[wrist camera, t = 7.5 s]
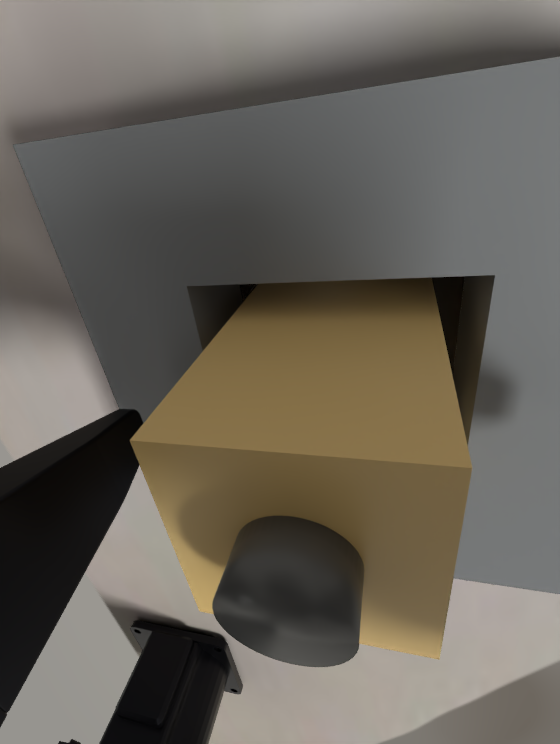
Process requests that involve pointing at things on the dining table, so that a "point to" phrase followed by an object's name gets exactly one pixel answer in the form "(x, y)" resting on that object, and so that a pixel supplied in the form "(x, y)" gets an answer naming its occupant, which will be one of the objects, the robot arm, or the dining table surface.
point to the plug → (317, 471)
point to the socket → (343, 255)
